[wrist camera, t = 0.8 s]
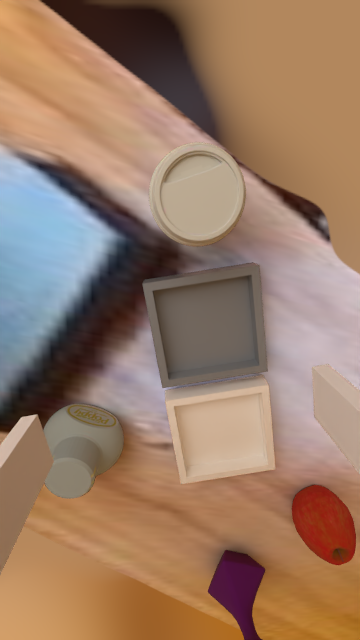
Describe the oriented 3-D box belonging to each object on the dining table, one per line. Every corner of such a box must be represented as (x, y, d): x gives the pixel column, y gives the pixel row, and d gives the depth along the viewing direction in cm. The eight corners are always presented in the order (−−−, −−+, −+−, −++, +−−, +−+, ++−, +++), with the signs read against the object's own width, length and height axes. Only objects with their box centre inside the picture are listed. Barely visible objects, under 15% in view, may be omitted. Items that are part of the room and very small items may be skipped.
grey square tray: (162, 377, 43) (162, 388, 41) (144, 279, 39) (142, 283, 36) (261, 362, 43) (267, 371, 40) (252, 262, 39) (259, 265, 36)
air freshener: (133, 414, 45) (124, 465, 35) (115, 459, 47) (102, 518, 37) (59, 391, 43) (29, 438, 34) (44, 438, 45) (12, 494, 36)
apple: (305, 466, 49) (343, 529, 38) (344, 487, 50) (389, 553, 40) (274, 501, 51) (301, 570, 40) (311, 521, 52) (347, 592, 42)
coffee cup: (233, 177, 36) (264, 153, 25) (213, 249, 39) (233, 258, 27) (162, 156, 35) (161, 122, 24) (146, 231, 38) (138, 233, 26)
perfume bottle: (219, 540, 53) (245, 693, 35) (259, 549, 53) (304, 702, 36) (205, 571, 54) (222, 730, 37) (244, 579, 55) (279, 737, 38)
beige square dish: (180, 469, 48) (181, 484, 45) (165, 390, 44) (165, 401, 41) (269, 455, 48) (275, 469, 45) (262, 374, 44) (268, 384, 41)
